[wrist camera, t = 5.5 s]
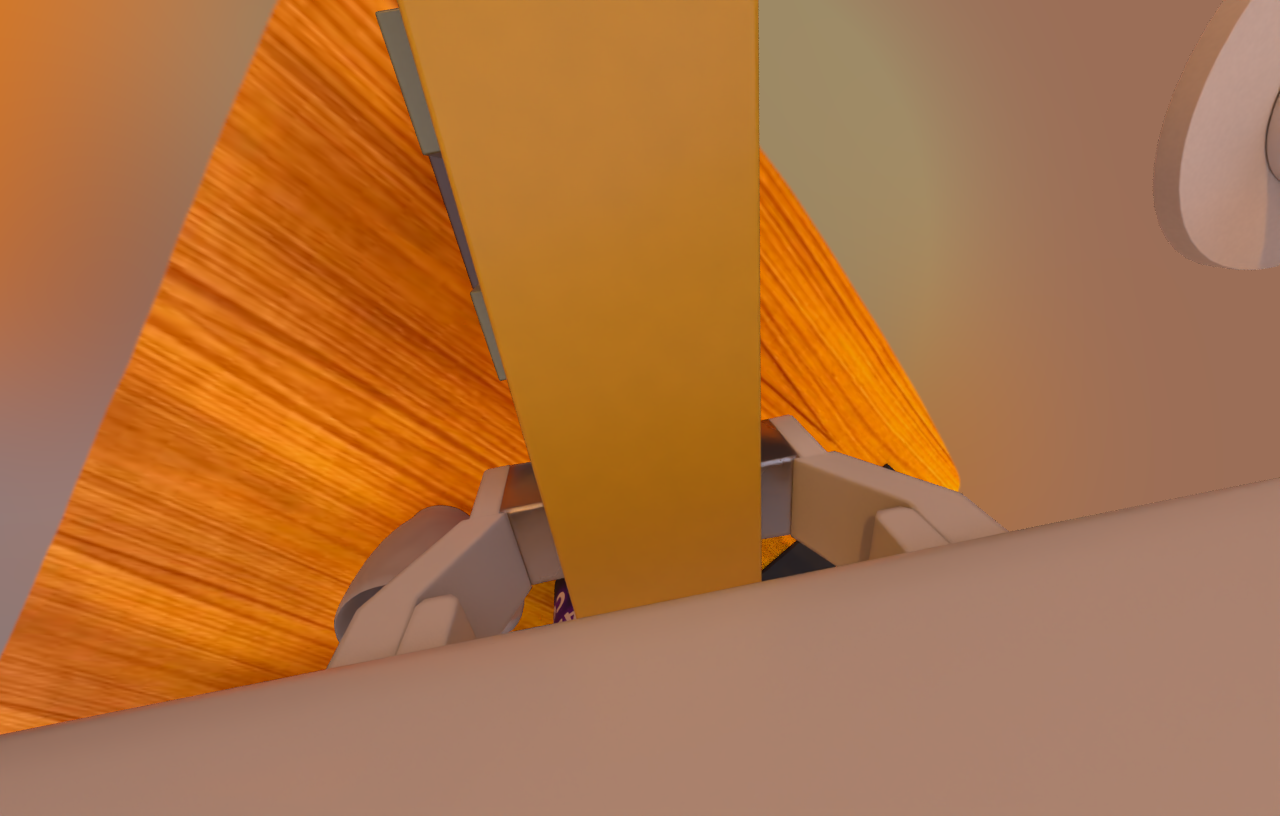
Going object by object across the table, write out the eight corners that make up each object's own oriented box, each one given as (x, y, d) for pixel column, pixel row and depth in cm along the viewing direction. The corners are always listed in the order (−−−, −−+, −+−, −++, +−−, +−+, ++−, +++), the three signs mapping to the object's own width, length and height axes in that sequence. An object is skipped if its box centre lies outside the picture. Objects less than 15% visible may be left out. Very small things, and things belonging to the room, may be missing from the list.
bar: (687, -17, 7) (760, -147, 4) (728, 656, 14) (763, 767, 11) (449, 12, 6) (364, -106, 4) (617, 679, 14) (627, 798, 11)
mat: (886, 463, 42) (889, 465, 41) (919, 493, 44) (922, 496, 44) (747, 582, 46) (748, 585, 46) (783, 604, 48) (785, 608, 48)
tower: (554, 49, 25) (547, -27, 16) (607, 311, 32) (622, 360, 23) (410, 73, 25) (319, 10, 16) (495, 334, 31) (466, 393, 23)
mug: (372, 552, 38) (315, 659, 29) (406, 472, 35) (354, 565, 27) (508, 588, 42) (493, 692, 33) (548, 519, 39) (543, 613, 31)
